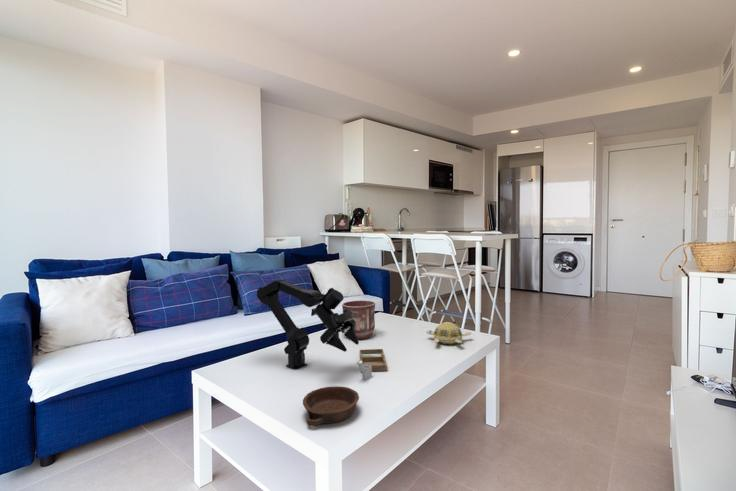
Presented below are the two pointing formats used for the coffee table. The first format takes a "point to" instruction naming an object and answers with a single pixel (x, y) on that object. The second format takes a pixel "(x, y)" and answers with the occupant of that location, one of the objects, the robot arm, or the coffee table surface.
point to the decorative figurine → (447, 333)
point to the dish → (330, 404)
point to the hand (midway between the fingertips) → (352, 347)
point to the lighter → (365, 370)
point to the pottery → (362, 317)
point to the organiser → (374, 359)
